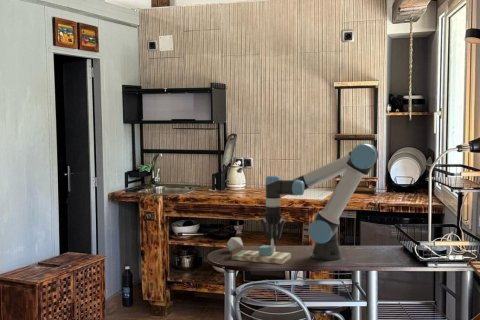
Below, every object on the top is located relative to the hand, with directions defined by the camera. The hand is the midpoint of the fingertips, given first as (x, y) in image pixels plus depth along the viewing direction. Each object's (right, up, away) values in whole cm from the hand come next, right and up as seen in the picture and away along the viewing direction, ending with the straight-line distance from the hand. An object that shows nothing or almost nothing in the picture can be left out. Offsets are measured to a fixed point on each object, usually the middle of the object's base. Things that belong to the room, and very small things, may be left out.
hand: (273, 251), depth 276 cm
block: (-3, -2, +2) cm, 4 cm away
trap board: (-6, -4, +3) cm, 8 cm away
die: (-20, -4, +20) cm, 28 cm away
